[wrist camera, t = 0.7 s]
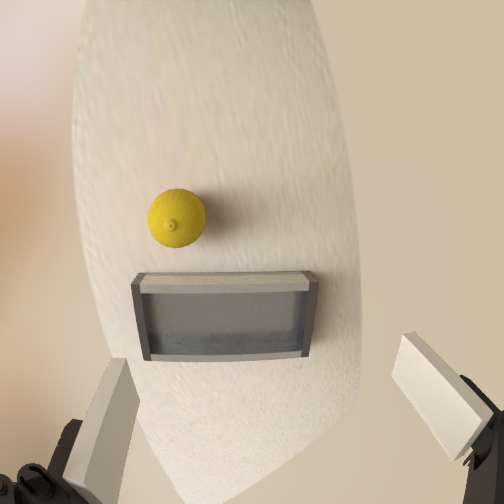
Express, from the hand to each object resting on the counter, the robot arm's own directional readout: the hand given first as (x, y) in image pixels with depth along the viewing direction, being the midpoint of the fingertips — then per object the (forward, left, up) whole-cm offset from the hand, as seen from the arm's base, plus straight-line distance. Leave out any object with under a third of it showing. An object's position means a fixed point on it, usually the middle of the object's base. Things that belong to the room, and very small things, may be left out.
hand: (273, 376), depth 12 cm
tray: (+8, -2, -21) cm, 23 cm away
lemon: (-4, -6, -22) cm, 23 cm away
